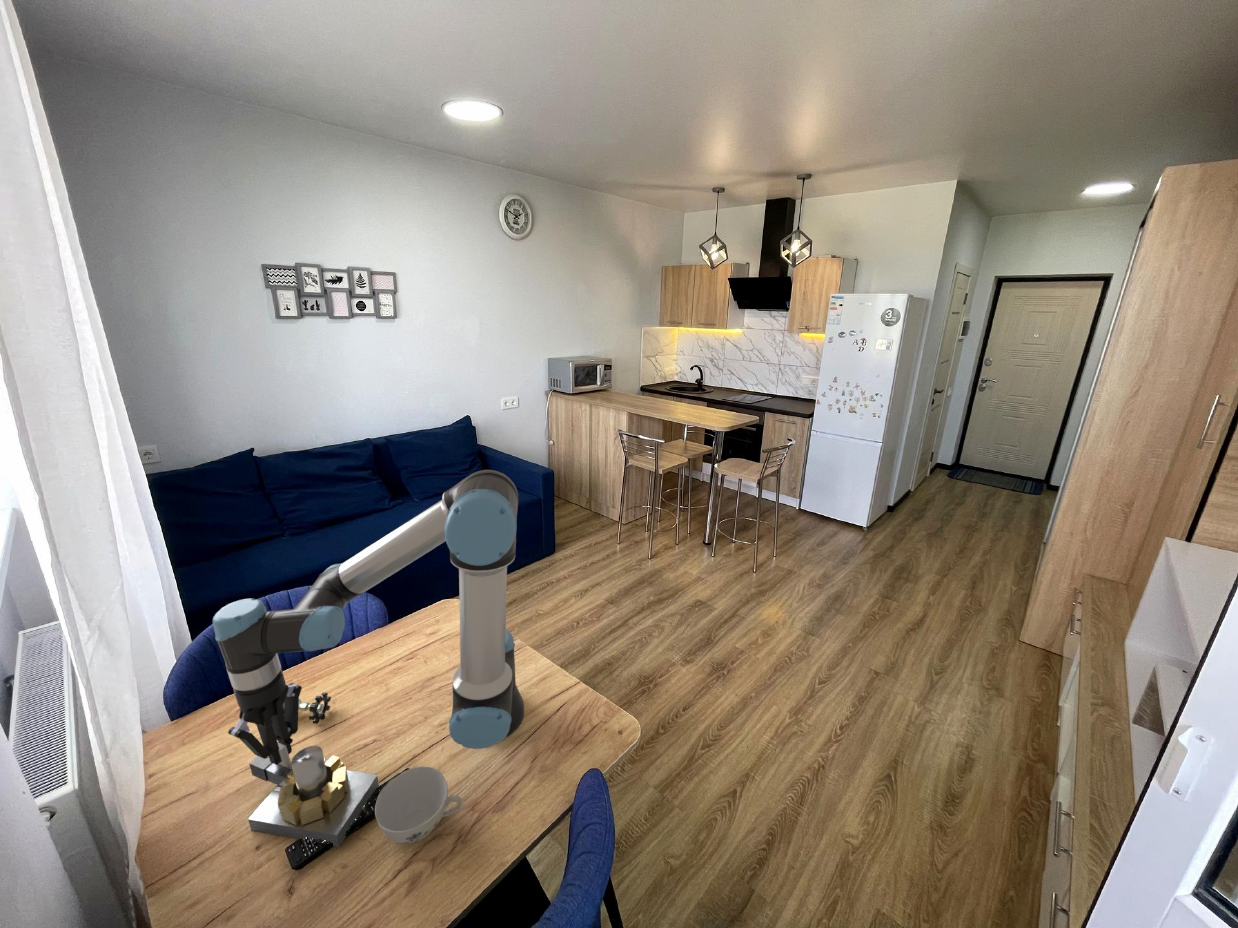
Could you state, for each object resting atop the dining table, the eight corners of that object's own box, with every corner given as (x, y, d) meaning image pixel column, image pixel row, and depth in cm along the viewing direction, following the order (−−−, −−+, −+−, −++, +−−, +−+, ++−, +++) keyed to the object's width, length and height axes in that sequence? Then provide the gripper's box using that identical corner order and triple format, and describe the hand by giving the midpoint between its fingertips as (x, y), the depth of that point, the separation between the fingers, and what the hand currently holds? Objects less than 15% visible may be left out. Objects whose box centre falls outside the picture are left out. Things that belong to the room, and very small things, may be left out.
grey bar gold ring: (283, 748, 104) (279, 734, 103) (360, 779, 98) (357, 764, 97) (229, 794, 94) (225, 779, 93) (311, 832, 88) (308, 816, 87)
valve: (266, 725, 113) (315, 730, 112) (260, 703, 111) (310, 707, 110) (286, 703, 120) (333, 708, 119) (281, 682, 117) (329, 686, 117)
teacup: (369, 866, 86) (363, 834, 83) (392, 798, 98) (387, 768, 95) (457, 856, 88) (453, 825, 85) (468, 791, 99) (466, 761, 97)
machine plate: (379, 786, 100) (371, 737, 96) (339, 846, 89) (328, 794, 85) (300, 772, 102) (289, 724, 98) (251, 830, 91) (236, 778, 87)
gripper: (276, 650, 97) (301, 738, 105) (207, 696, 86) (240, 791, 94) (303, 659, 95) (326, 749, 103) (235, 708, 84) (267, 805, 91)
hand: (285, 769), depth 98 cm, fingers closed
